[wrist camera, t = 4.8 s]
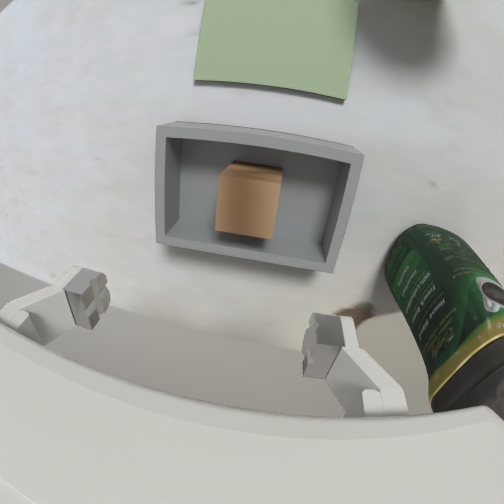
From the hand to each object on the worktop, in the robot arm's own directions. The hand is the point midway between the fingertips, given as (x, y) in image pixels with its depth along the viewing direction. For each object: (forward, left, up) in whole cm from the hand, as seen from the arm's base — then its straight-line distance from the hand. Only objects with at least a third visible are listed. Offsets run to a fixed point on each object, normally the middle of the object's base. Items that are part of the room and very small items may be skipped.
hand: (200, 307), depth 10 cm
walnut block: (0, 0, -15) cm, 15 cm away
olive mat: (0, -13, -16) cm, 20 cm away
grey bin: (0, 0, -16) cm, 16 cm away
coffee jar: (-18, +4, -16) cm, 24 cm away
